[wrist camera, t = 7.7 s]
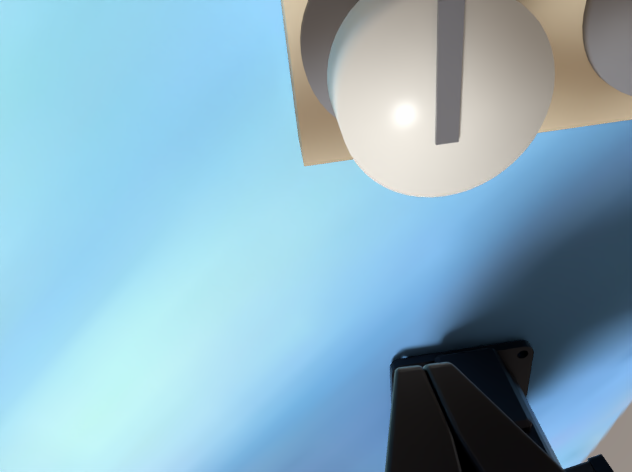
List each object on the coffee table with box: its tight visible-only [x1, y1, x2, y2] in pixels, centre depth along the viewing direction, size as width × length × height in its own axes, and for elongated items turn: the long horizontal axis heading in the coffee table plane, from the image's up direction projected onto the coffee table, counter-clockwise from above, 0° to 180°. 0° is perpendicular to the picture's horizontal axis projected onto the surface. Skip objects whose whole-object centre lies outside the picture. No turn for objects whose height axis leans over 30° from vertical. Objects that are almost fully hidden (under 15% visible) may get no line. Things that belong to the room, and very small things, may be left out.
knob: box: [327, 0, 555, 197], centre depth 14 cm, size 5×5×4 cm
